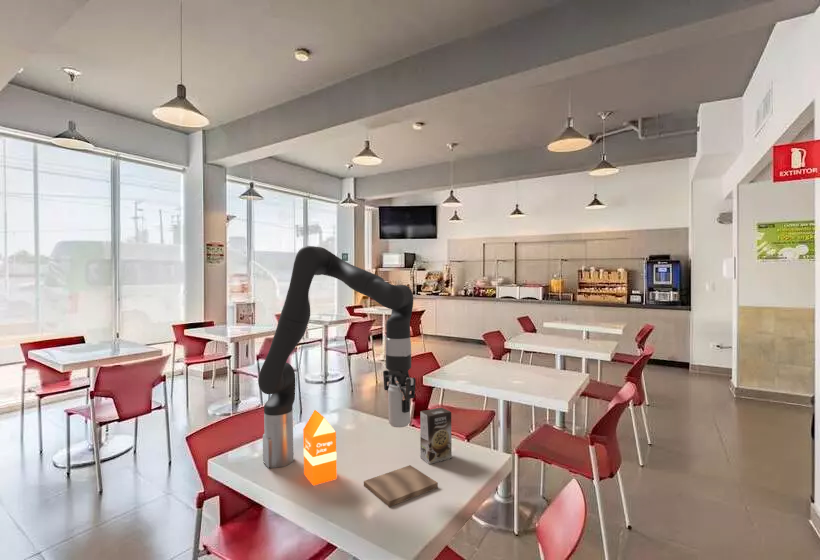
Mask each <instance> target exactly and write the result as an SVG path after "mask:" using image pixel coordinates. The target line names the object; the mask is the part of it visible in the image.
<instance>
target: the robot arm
mask: <svg viewBox="0 0 820 560" xmlns="http://www.w3.org/2000/svg"><path fill="white" fill-rule="evenodd" d="M315 276H327V277H331V278H334V279H337V280H339V281H341V282H343V283H344V284H345V285H346V286H348V287H349V288H350V289H351V290H353V291H355V292H357V293H360V294H362V295H363V296H365V297H367V298H371V299H372V300H374V301H375V302H376V303H378V304H379V305H381V306H382V307H383V308H387V309H389V310H391V313H390V316H389V318H388V319H387V320H386V327H385V328H386V331H385V332H386V335H385V336H386V338H385V339H386V340H385V369H386V370H383V371H382V373H383V375H382V376H383V389H384V391H386V392H387V393H388V388H389V387H390V386H389V384H394V385H396V386H397V387H398V390H399V392H401V396H402V399H403V400H402V412H403V413H406V412H409V411H410V412H411V399H415V397H416V382H417V381H416V378H415V377H410V374H409V370H410V369H412V341H411V318H412V315H413V313H412V312H413V308H414V294H413V291H412V289H411V288H410V287H409V286H407V285H405V284H392V283H390V282H387V281H386V280H384V278H383V277H381V276H379V275H378V274H375V273H373V272H370V271H367V270H365V269H363V268H361V267H358V266H356V265H353V264H352V263H349V262H347V261H345V260H343V259H341V258H340V257H338V256H337V255H336V254H334V253H333V252H331V251H329V250H328V249H326V248H325V247H321V246H315V245H305V246H302V247H301V248H300V249H298V251H297V253H296V255H295V258H294V262H293V267H292V272H291V277H290V281H289V287H288V289H287V293H286V297H285V300H284V303H283V306H282V310H281V313H280V315H279V319H278V322H277V326H276V329H275V331H274V335H273V339H272V341H271V344H270V347H269V349H268V352H267V354H266V357H265V360H263V361H264V362H263V364H262V366H261V369H260V371H259V373H258V378H257V379H258V383H257V384H258V387H259V389H260V391H261V392H262V393H264V394H265V395H270V397H269V399H268V400H267V401H266V402H265V403H264V405H263V416H264V417H263V420H264V421H263V422H264V426H263V427H264V429H263V430H264V431H263V432H264V433H263V434H262V461H264V462H265V464H266V465H267V466H266V465H265V464H264V465H265V466H266V467H267V469H270V468H269V467H272V468H281V467H286V466H288V465H290V464H292V463H293V461H294V455H295V454H294V453H295V452H294V422H293V421H294V417H293V416H294V415H293V413H294V412H293V409H294V408H293V407H294V403H295V399H296V397H295V396H296V372H295V370H294V367H293V366H292V365H291V364H290V363H289V362H287V361H288V359H289V357H290V355H291V354H292V352H293V351H294V350H295V348H296V347H297V346H298V344H299V343H300V342H301V340H302V338H303V337H304V335H305V333H306V331H307V328H308V325H309V321H310V318H311V305H310V297H309V294H310V293H309V292H310V288H311V284H312V281H313V279H314V277H315ZM403 386H406V388H404V389H403V388H401V387H403ZM404 391H406V395H405V394H404ZM264 462H263V463H264Z"/></svg>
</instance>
